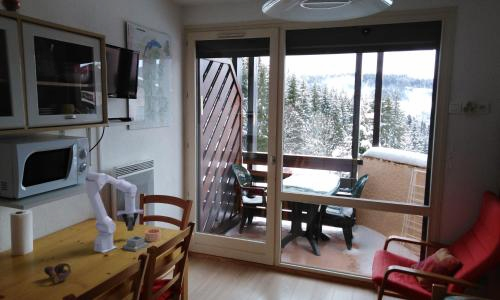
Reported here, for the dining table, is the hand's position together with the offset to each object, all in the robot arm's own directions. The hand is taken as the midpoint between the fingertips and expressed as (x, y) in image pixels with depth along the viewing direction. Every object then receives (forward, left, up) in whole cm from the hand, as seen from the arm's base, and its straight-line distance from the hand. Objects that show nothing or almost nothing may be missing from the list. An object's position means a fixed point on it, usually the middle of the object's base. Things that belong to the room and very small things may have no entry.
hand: (130, 225), depth 219 cm
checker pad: (-8, -12, -5) cm, 15 cm away
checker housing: (-8, -12, -8) cm, 16 cm away
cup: (+6, -12, -8) cm, 16 cm away
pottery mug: (-54, -10, -8) cm, 55 cm away
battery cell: (0, 0, -3) cm, 2 cm away
